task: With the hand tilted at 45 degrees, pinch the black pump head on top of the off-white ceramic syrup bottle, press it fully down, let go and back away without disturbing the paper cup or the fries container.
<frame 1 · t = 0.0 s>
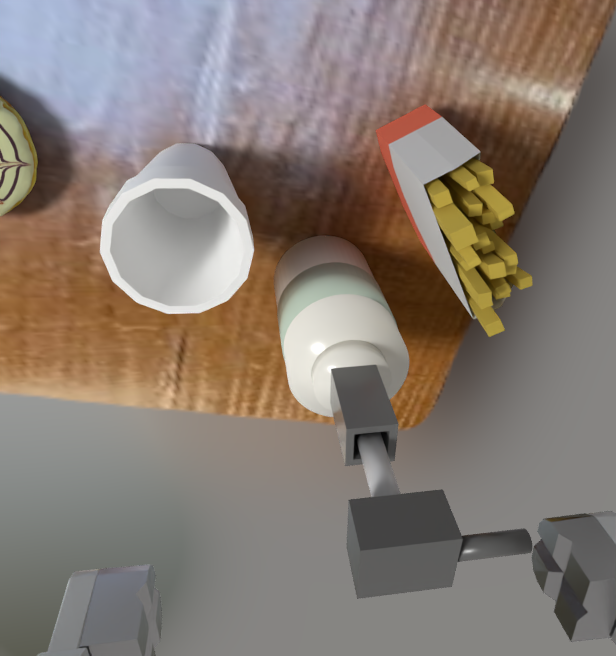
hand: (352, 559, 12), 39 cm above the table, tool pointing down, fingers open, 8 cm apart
syrup bottle: (321, 279, 52), on the table
pump head: (420, 491, 32), point 25 cm above the table, slide at 5.0 cm
foam cup: (189, 180, 46), on the table
french fries container: (415, 167, 48), on the table
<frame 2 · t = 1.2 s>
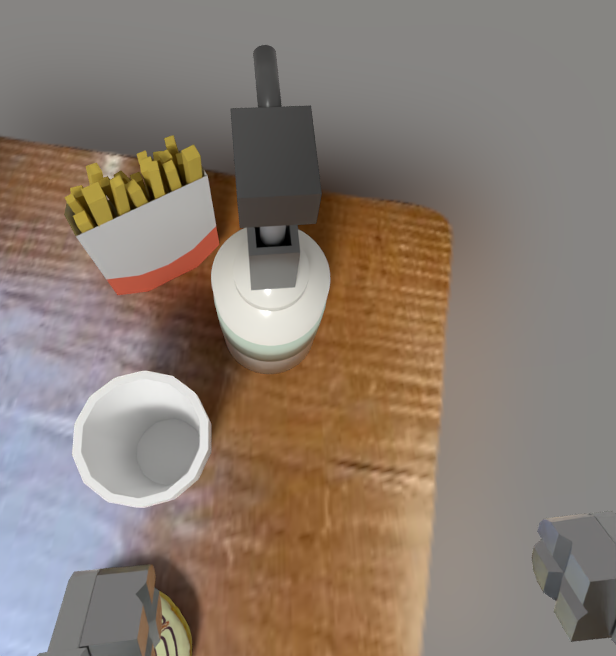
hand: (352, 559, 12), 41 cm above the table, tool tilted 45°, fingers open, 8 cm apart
syrup bottle: (269, 329, 56), on the table
pump head: (270, 168, 32), point 25 cm above the table, slide at 5.0 cm
foam cup: (171, 452, 52), on the table
french fries container: (163, 262, 57), on the table
decorated donut: (129, 650, 47), on the table
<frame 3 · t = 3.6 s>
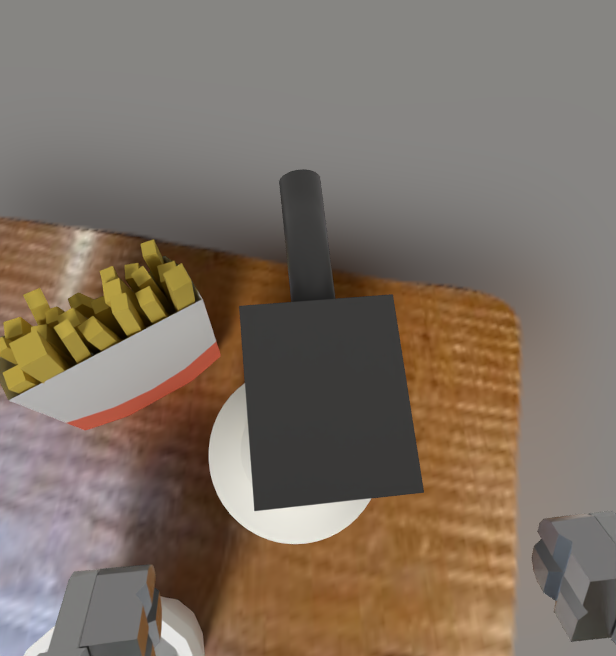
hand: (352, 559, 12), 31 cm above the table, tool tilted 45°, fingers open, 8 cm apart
syrup bottle: (287, 466, 42), on the table
pump head: (307, 361, 19), point 25 cm above the table, slide at 5.0 cm
foam cup: (157, 646, 38), on the table
french fries container: (148, 374, 44), on the table
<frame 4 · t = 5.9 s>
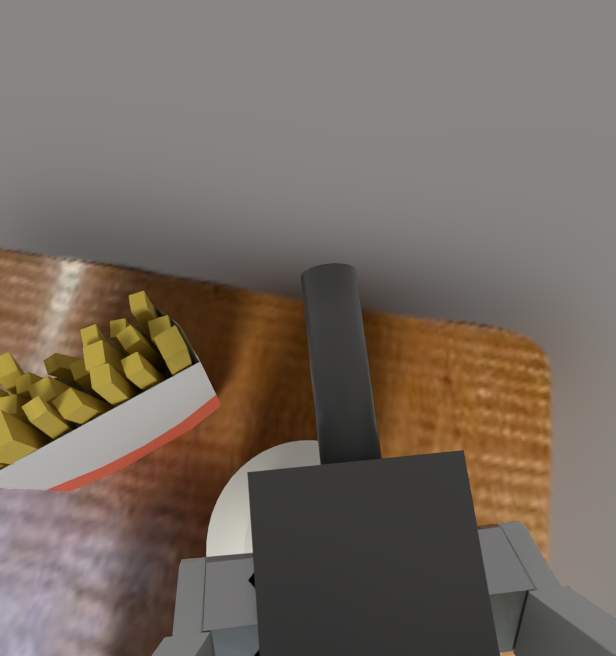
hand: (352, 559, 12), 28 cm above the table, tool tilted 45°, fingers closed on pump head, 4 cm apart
syrup bottle: (294, 528, 38), on the table
pump head: (332, 493, 14), point 25 cm above the table, slide at 5.0 cm, touching gripper
french fries container: (141, 423, 40), on the table
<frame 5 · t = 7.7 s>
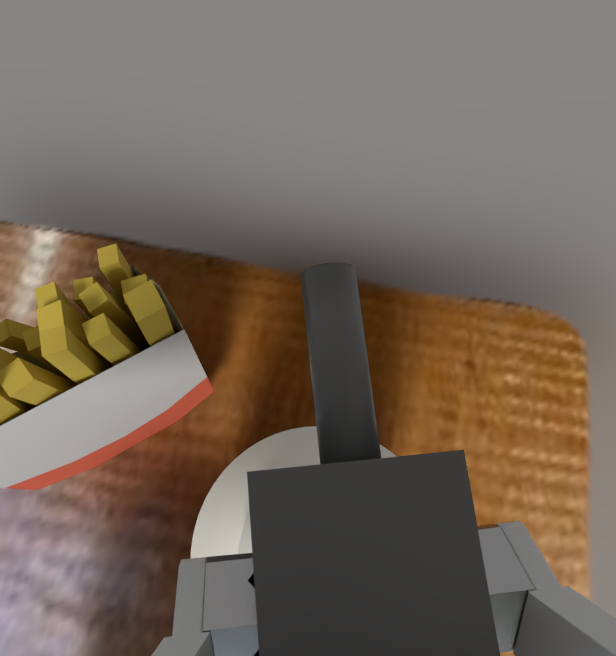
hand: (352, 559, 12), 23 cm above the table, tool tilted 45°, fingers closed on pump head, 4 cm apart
syrup bottle: (298, 532, 33), on the table
pump head: (332, 492, 14), point 20 cm above the table, slide at -0.1 cm, touching gripper
french fries container: (122, 412, 35), on the table
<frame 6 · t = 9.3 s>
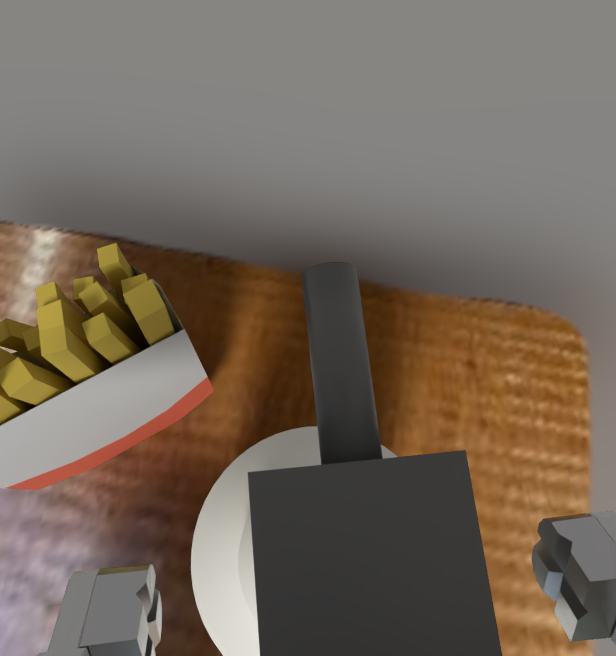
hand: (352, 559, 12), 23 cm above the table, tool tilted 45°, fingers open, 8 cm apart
syrup bottle: (298, 533, 33), on the table
pump head: (333, 493, 14), point 20 cm above the table, slide at -0.1 cm
french fries container: (123, 412, 35), on the table
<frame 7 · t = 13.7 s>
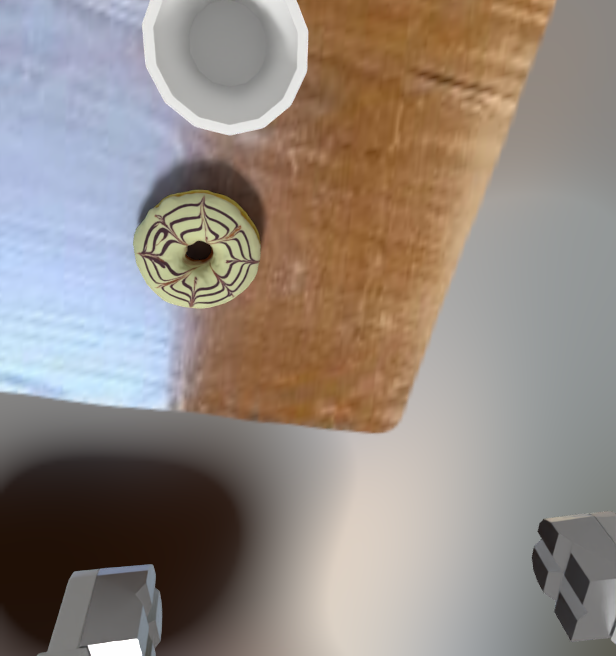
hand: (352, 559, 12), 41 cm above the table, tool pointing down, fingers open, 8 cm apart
foam cup: (228, 44, 44), on the table
decorated donut: (199, 242, 51), on the table
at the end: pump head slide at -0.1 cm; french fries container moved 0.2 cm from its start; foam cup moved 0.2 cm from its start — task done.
